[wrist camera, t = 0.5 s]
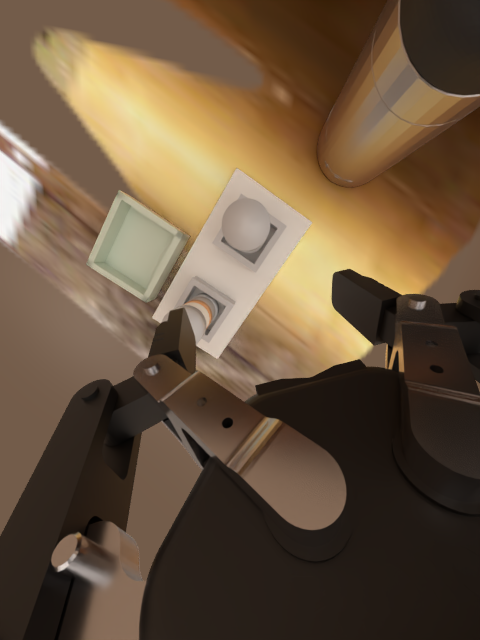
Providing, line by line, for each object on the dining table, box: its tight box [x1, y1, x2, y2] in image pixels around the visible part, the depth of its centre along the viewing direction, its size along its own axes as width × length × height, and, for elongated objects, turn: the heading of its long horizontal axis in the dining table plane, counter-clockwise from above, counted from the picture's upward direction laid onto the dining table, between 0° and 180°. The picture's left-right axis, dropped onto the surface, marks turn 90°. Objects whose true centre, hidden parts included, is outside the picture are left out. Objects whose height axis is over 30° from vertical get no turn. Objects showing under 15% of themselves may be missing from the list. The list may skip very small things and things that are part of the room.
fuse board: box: [152, 168, 312, 359], centre depth 32 cm, size 24×12×4 cm, turn 147°
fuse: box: [222, 198, 270, 253], centre depth 26 cm, size 4×4×11 cm
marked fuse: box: [161, 293, 219, 345], centre depth 29 cm, size 4×4×11 cm
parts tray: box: [86, 190, 190, 303], centre depth 32 cm, size 11×10×3 cm
